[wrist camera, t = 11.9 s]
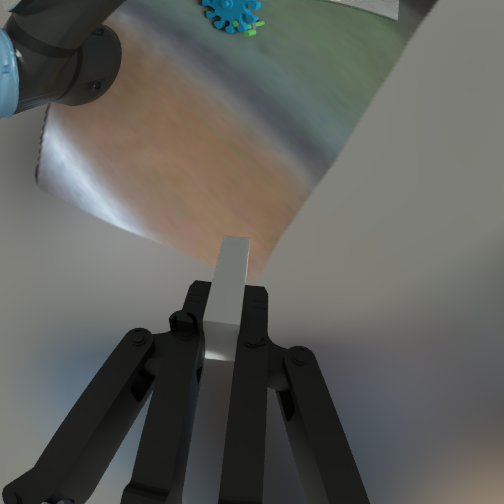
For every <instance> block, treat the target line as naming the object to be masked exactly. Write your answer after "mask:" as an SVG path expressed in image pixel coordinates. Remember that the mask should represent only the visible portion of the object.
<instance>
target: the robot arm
mask: <svg viewBox="0 0 504 504" xmlns="http://www.w3.org/2000/svg"><path fill="white" fill-rule="evenodd" d="M125 1H126V0H2V3H3V8H4V10H5V11H8V12H12V15H11V16H10V18H9V19H8V21H7V22H6V24H5V25H4V27H3V28H2V29H0V118H9V117H11V116H12V115H14V114H17V113H20V112H22V111H25V110H28V109H31V108H34V107H37V106H40V105H44V104H47V103H50V102H57V103H61V104H65V105H69V106H77V105H82V104H86V103H89V102H92V101H94V100H96V99H98V98H99V97H100V96H102V95H103V94H104V93H105V92H106V91H107V90H108V89H109V87H110V86H111V85H112V83H113V81H114V80H115V78H116V76H117V73H118V71H119V68H120V63H121V54H122V52H121V44H120V41H119V38H118V36H117V35H116V33H115V32H114V31H113V30H112V29H111V28H109V27H108V26H106V25H103V24H102V23H103V22H104V21H105V20H106V19H107V18H108V17H109V16H110V15H111V14H112V13H113V12H114V11H115V10H116V9H117V8H118V7H119V6H120V5H121V4H122V3H123V2H125ZM249 243H250V238H247V237H237V236H226V235H224V238H223V242H222V245H221V249H220V253H219V257H218V261H217V265H216V269H215V273H214V277H213V281H212V282H205V281H198V280H196V281H194V282H193V284H191V286H190V287H189V290H188V293H187V296H186V299H185V302H184V305H183V308H182V310H180V311H176V312H175V313H173V314H172V315H171V316H170V318H169V323H170V329H171V331H168V332H166V333H160V334H151V332H150V331H148V330H147V329H144V328H135V329H132V330H130V331H129V332H128V333H127V334H126V335H125V336H124V338H123V339H122V340H121V342H120V343H119V344H118V346H117V347H116V348H115V349H114V351H113V352H112V353H111V355H110V356H109V357H108V359H107V360H106V361H105V363H104V364H103V366H102V367H101V368H100V370H99V371H98V373H97V374H96V375H95V377H94V378H93V379H92V381H91V382H90V384H89V385H88V387H87V388H86V389H85V390H84V392H83V393H82V395H81V396H80V398H79V399H78V400H77V402H76V403H75V405H74V406H73V408H72V409H71V411H70V412H69V413H68V415H67V417H66V418H65V420H64V421H63V422H62V424H61V425H60V427H59V428H58V430H57V431H56V433H55V434H54V436H53V437H52V439H51V441H50V442H49V444H48V445H47V447H46V448H45V450H44V451H43V453H42V455H41V456H40V458H39V460H38V461H37V463H36V464H35V466H34V467H33V468H32V469H30V470H29V471H28V472H26V473H25V474H23V475H21V476H20V477H19V478H17V479H15V480H14V481H12V482H11V483H9V484H8V485H6V486H5V487H4V488H3V492H2V497H3V501H4V503H5V504H84V503H85V502H86V501H87V500H88V499H89V498H90V496H91V495H92V493H93V492H94V490H95V488H96V486H97V485H98V483H99V481H100V479H101V478H102V476H103V474H104V472H105V471H106V469H107V467H108V466H109V464H110V462H111V460H112V459H113V457H114V455H115V453H116V452H117V450H118V448H119V447H120V445H121V443H122V441H123V440H124V438H125V436H126V435H127V433H128V431H129V429H130V428H131V426H132V424H133V423H134V421H135V419H136V418H137V416H138V414H139V413H140V410H141V409H142V407H143V406H144V404H145V402H146V401H147V399H148V397H149V396H150V394H151V392H152V391H153V394H152V398H151V401H150V405H149V408H148V412H147V416H146V420H145V424H144V428H143V431H142V435H141V440H140V444H139V447H138V452H137V456H136V460H135V465H134V469H133V473H132V478H131V481H130V483H129V484H128V485H127V486H126V487H125V489H124V491H123V494H122V498H121V503H120V504H182V492H183V486H184V480H185V473H186V467H187V460H188V454H189V448H190V442H191V437H192V431H193V424H194V419H195V413H196V407H197V402H198V397H199V391H200V386H201V380H202V375H203V370H204V364H203V361H204V356H205V358H210V359H219V360H226V361H235V362H234V371H233V379H232V388H231V397H230V405H229V413H228V422H227V431H226V439H225V448H224V457H223V465H222V475H221V484H220V492H219V501H218V504H262V495H263V477H264V457H265V456H264V455H265V435H266V434H265V433H266V410H267V387H269V388H272V389H274V390H275V391H276V395H277V399H278V402H279V406H280V409H281V413H282V417H283V421H284V424H285V428H286V431H287V435H288V438H289V442H290V446H291V449H292V453H293V456H294V460H295V463H296V467H297V470H298V474H299V478H300V481H301V484H302V488H303V491H304V495H305V498H306V502H307V504H370V502H369V500H368V497H367V494H366V491H365V488H364V485H363V483H362V480H361V477H360V474H359V471H358V469H357V466H356V463H355V460H354V458H353V455H352V453H351V449H350V447H349V444H348V441H347V439H346V436H345V433H344V431H343V428H342V425H341V423H340V420H339V418H338V415H337V412H336V409H335V407H334V404H333V402H332V399H331V397H330V394H329V391H328V389H327V386H326V383H325V381H324V378H323V376H322V373H321V370H320V368H319V365H318V363H317V360H316V358H315V355H314V354H313V352H312V351H311V350H309V349H308V348H306V347H303V346H294V347H291V348H289V349H285V348H283V347H280V346H278V345H276V344H274V343H273V342H272V341H271V340H270V339H269V336H268V332H267V328H268V293H267V291H266V289H265V287H260V286H250V285H245V283H246V275H247V264H248V253H249ZM153 389H154V390H153Z"/></svg>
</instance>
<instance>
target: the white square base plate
mask: <svg viewBox="0 0 504 504" xmlns="http://www.w3.org/2000/svg"><path fill="white" fill-rule="evenodd" d="M317 1H323V2H328V3H332V4H337V5H341V6H345V7H349V8H353V9H357V10H360V11H364V12H367V13H371V14H374V15H377V16H380V17H383V18H386V19H389V20H392V21H397V20H398V5H399V0H317Z"/></svg>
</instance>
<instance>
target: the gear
mask: <svg viewBox="0 0 504 504" xmlns="http://www.w3.org/2000/svg"><path fill="white" fill-rule="evenodd" d="M202 5H204V6H206V5H208V6H211V7H213V8H214V9H215V11H214V10H211V11H207V12H206V15H207V18H208V19H210V18H213V17H215V16H216V15H217V16H220V17H221V20H219V21H216V22H215V23H214V25H215V26H216V27H217V28H218V29H220V28H223V27H224V26H225V23H226V21H227V20H228V21H229V22H230V25H229V26H227V27H226V31H227V32H228V33H231V34H232V33H235V32H236V27H237V29H238V31H244V36H246V37H249V36H252V35H255V34H256V30H255V29H256V27H257V26H260V25H264V24H265V22H264V21H258V22H256V21H257V20H258V17H257V16H256V15H254V14H253V13H252V12H251V11H250V10H249V8H248V5H249V6H250V8H251V9H252V10H258V9H260V6H261V2H260V1H255V0H213V1H212V0H203V1H202ZM245 30H246V31H245Z"/></svg>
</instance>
